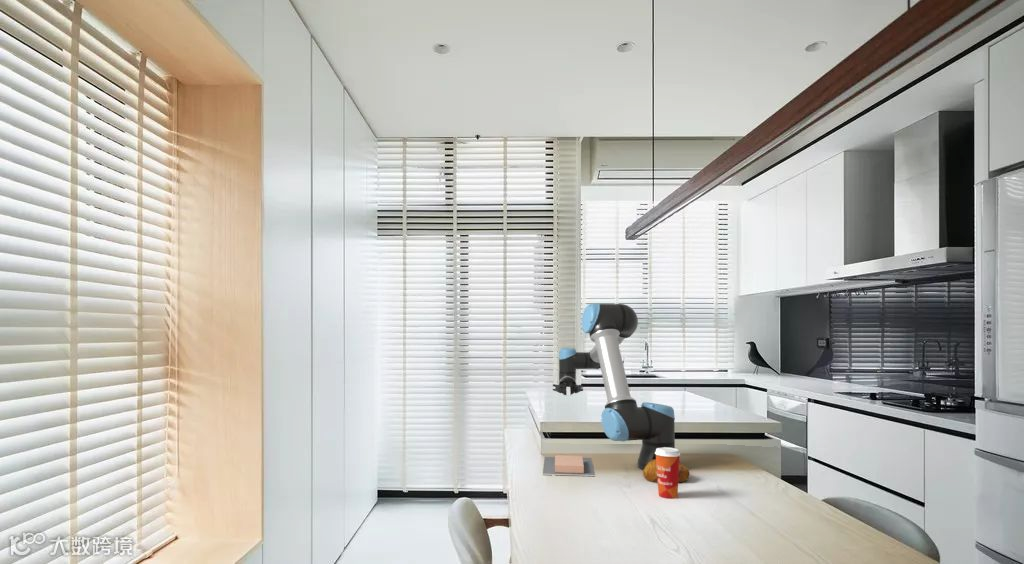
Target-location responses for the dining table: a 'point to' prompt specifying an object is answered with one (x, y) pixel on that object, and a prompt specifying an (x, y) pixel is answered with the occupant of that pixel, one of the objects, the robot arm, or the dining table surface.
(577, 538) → the dining table surface
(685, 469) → the croissant
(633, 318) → the robot arm
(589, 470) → the mat
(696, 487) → the dining table surface
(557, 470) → the tile
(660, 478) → the paper cup
